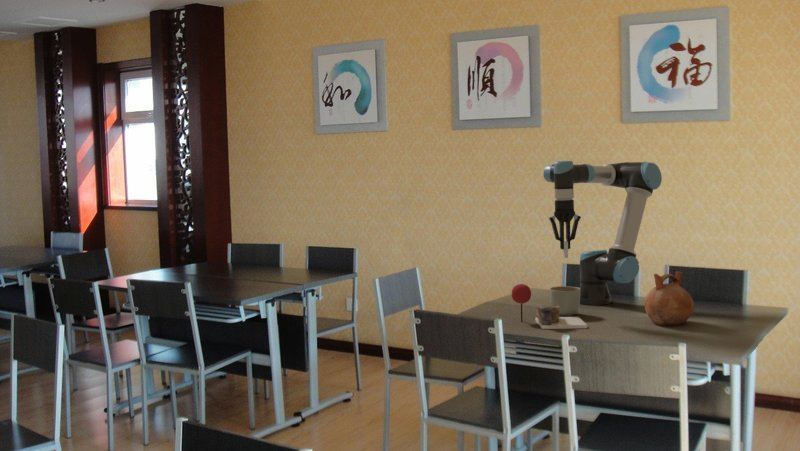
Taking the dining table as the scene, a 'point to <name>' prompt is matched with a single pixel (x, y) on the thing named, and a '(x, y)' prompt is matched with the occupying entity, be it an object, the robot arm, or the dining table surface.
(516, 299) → the lollipop
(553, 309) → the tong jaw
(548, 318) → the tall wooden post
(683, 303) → the jug
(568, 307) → the planter
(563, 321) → the board
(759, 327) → the dining table surface
